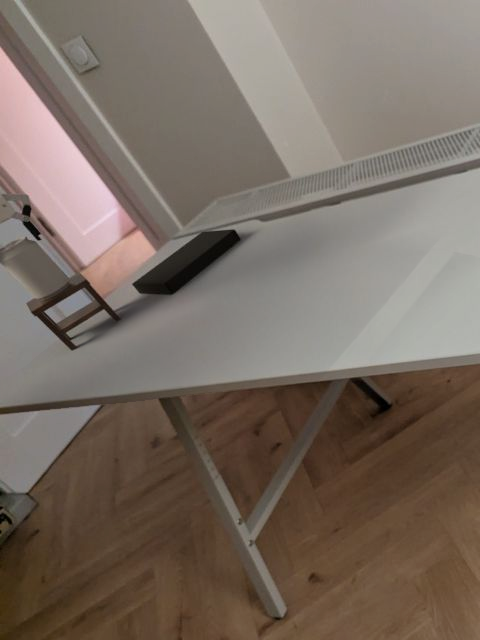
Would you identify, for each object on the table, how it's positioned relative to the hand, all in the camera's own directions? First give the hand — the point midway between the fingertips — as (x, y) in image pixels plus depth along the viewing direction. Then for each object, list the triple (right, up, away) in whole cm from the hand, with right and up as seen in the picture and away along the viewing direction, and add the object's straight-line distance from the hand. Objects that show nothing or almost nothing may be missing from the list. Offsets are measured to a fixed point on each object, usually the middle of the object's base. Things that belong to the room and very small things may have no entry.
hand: (15, 251), depth 110 cm
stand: (+7, -15, +13) cm, 21 cm away
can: (+3, -8, +6) cm, 11 cm away
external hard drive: (+24, +1, +24) cm, 34 cm away
